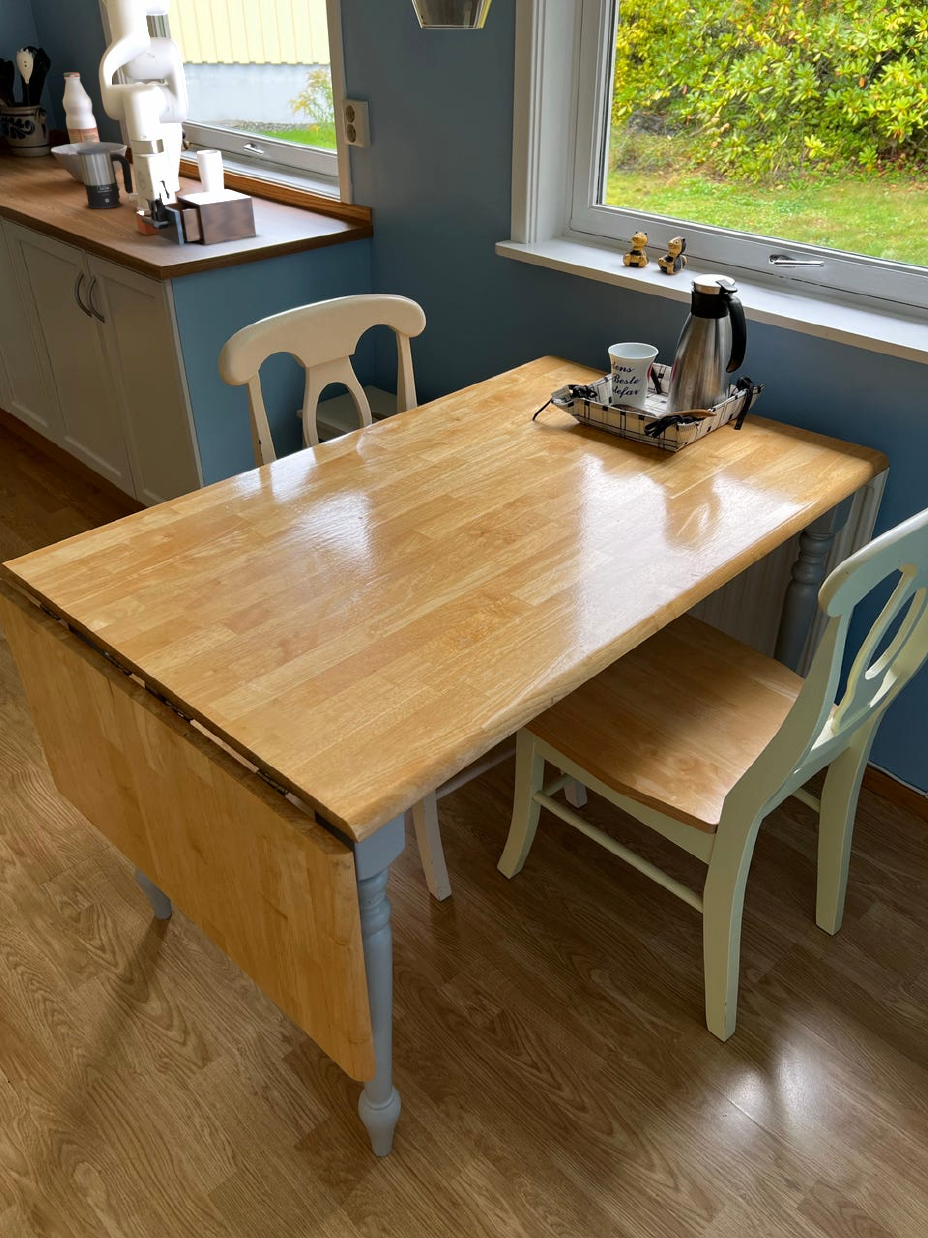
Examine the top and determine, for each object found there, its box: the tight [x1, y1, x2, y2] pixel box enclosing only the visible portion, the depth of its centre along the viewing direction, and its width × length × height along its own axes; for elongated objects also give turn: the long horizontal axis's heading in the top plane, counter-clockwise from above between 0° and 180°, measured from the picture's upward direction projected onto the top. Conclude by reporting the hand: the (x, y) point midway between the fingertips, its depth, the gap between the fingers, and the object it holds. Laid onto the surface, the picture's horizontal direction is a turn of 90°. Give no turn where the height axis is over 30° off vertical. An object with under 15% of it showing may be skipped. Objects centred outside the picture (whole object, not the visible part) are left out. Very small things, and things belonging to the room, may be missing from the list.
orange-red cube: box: [134, 210, 159, 236], centre depth 254 cm, size 5×5×5 cm
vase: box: [134, 80, 183, 193], centre depth 292 cm, size 15×15×29 cm
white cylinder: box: [196, 149, 225, 193], centre depth 274 cm, size 7×7×15 cm
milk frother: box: [76, 148, 134, 209], centre depth 280 cm, size 14×16×15 cm
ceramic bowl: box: [50, 141, 128, 183], centre depth 307 cm, size 22×23×10 cm
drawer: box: [141, 201, 203, 246], centre depth 244 cm, size 18×11×8 cm, turn 130°
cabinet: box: [176, 189, 257, 246], centre depth 250 cm, size 15×13×10 cm
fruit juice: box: [62, 71, 100, 144], centre depth 324 cm, size 9×9×28 cm
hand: (160, 227), depth 242 cm, fingers closed
